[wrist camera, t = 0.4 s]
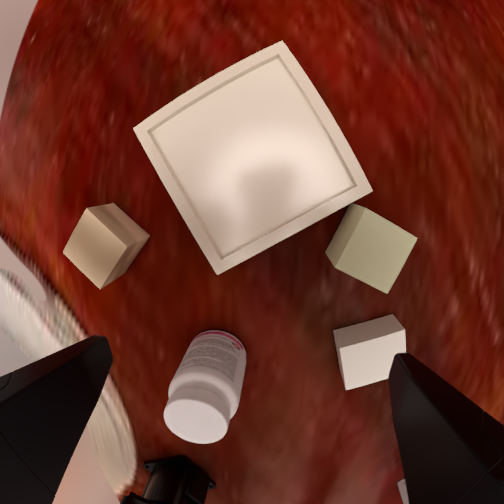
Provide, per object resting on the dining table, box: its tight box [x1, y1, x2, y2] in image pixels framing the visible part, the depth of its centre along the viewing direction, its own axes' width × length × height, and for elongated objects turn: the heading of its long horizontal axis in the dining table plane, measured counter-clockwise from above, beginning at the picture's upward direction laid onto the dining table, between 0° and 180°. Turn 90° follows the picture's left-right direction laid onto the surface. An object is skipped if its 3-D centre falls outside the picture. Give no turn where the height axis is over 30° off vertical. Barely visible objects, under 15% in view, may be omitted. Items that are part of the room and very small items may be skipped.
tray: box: [133, 41, 373, 275], centre depth 20 cm, size 12×12×1 cm
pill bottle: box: [164, 330, 247, 444], centre depth 21 cm, size 5×5×8 cm
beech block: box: [63, 203, 150, 289], centre depth 21 cm, size 4×4×4 cm
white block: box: [333, 314, 406, 390], centre depth 22 cm, size 5×4×3 cm
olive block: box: [325, 203, 417, 294], centre depth 20 cm, size 4×4×4 cm
